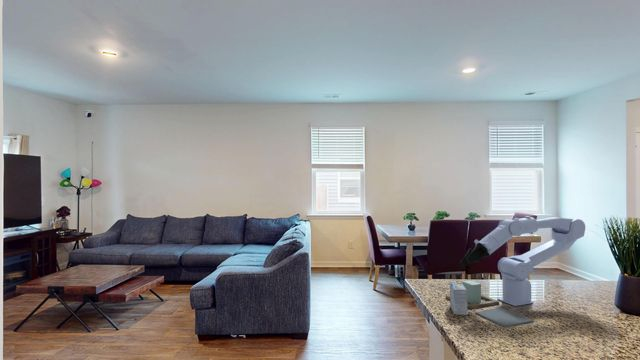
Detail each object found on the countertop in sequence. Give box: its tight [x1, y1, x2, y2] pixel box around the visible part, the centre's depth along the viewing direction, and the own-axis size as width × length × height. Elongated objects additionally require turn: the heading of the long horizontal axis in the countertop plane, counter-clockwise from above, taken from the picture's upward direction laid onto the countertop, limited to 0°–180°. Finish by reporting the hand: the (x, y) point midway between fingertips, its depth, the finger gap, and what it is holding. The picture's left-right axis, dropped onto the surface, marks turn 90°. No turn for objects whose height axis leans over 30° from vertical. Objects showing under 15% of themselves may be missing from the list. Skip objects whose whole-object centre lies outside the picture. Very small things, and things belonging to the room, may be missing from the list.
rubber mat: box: [474, 307, 534, 328], centre depth 114 cm, size 12×12×1 cm
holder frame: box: [445, 293, 500, 310], centre depth 129 cm, size 14×12×1 cm
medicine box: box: [449, 282, 469, 316], centre depth 120 cm, size 8×4×9 cm, turn 168°
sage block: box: [462, 279, 482, 304], centre depth 129 cm, size 4×5×7 cm
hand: (464, 263), depth 125 cm, fingers open, 7 cm apart
